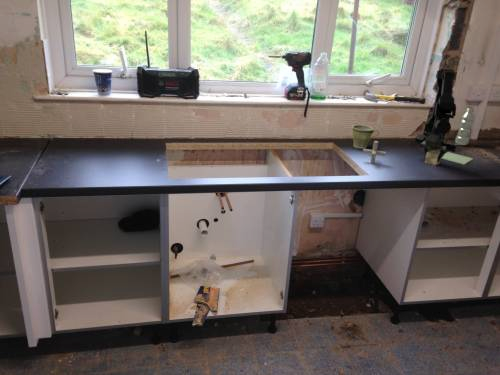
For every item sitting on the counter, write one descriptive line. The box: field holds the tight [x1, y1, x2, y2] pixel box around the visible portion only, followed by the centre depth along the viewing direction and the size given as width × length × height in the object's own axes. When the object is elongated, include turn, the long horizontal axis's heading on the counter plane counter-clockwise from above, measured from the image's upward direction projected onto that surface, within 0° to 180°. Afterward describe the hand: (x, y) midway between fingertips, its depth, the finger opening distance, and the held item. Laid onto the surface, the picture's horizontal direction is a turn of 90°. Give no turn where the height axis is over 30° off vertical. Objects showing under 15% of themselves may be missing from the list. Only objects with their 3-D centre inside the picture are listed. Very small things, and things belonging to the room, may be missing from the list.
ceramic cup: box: [352, 124, 380, 150], centre depth 212 cm, size 13×10×10 cm
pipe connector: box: [362, 140, 387, 164], centre depth 192 cm, size 10×10×10 cm
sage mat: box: [441, 151, 474, 166], centre depth 205 cm, size 12×12×1 cm
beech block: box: [424, 149, 441, 166], centre depth 197 cm, size 5×5×5 cm
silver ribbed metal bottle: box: [454, 106, 476, 146], centre depth 223 cm, size 6×7×20 cm
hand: (432, 160), depth 197 cm, fingers closed on beech block, 5 cm apart
